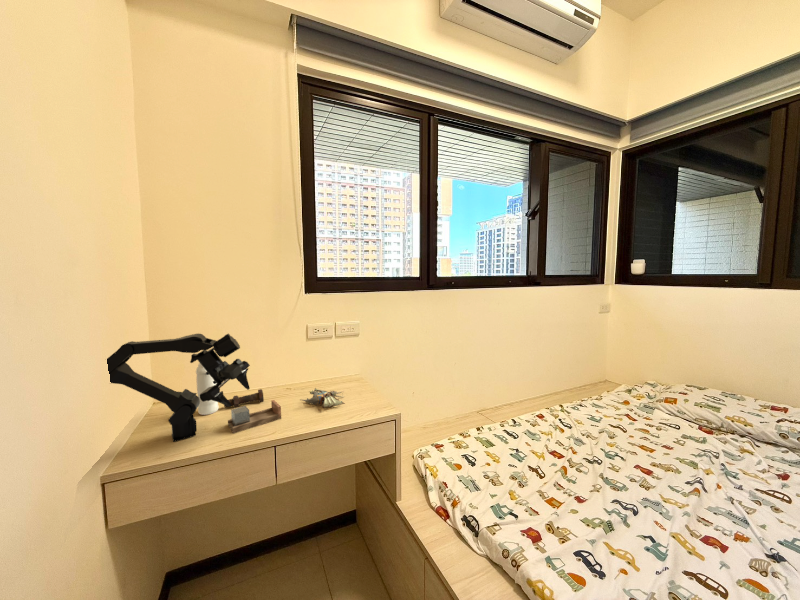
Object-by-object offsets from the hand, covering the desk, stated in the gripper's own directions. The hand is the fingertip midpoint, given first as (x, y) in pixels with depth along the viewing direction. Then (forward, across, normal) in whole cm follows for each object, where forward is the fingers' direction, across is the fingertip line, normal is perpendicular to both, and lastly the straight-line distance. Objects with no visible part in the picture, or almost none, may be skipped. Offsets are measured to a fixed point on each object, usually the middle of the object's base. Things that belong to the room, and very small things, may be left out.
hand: (240, 397), depth 113 cm
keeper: (+8, -3, +4) cm, 10 cm away
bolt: (+9, +11, +19) cm, 24 cm away
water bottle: (+2, +2, +26) cm, 26 cm away
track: (+12, 0, +2) cm, 12 cm away
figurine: (+26, +20, -11) cm, 35 cm away
